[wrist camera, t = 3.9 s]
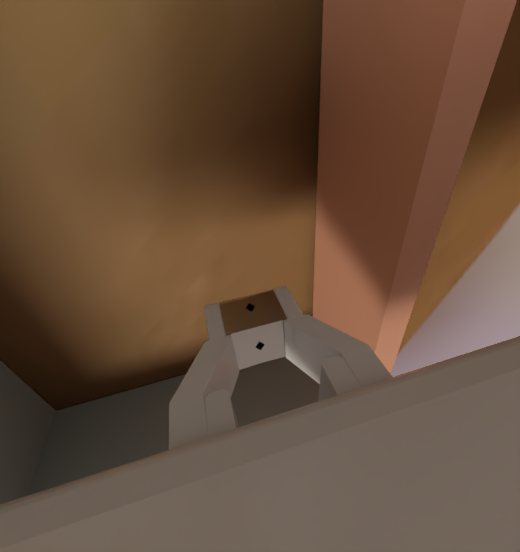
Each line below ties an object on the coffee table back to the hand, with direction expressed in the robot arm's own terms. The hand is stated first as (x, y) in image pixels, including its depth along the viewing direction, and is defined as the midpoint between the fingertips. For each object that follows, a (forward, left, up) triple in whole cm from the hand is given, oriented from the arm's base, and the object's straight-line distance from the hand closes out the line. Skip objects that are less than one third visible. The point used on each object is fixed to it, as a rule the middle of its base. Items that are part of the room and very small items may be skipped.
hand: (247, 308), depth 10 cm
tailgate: (0, +5, -4) cm, 7 cm away
